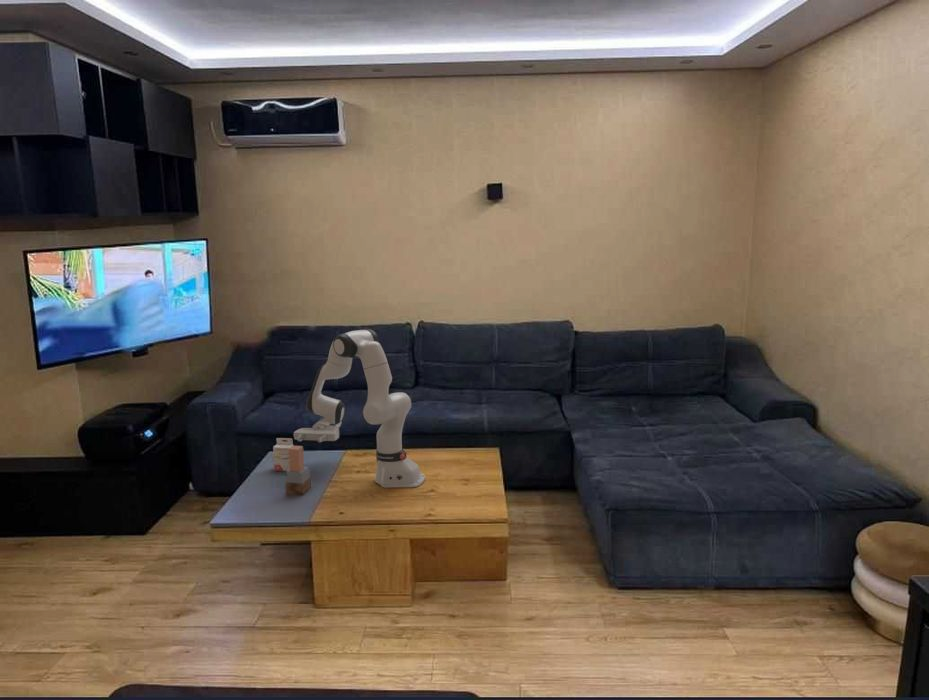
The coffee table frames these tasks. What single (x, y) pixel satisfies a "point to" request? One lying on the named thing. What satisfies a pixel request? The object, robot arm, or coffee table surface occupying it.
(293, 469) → the terracotta block
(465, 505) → the coffee table surface
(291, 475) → the tower top
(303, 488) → the tower base
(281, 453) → the ink cartridge box
